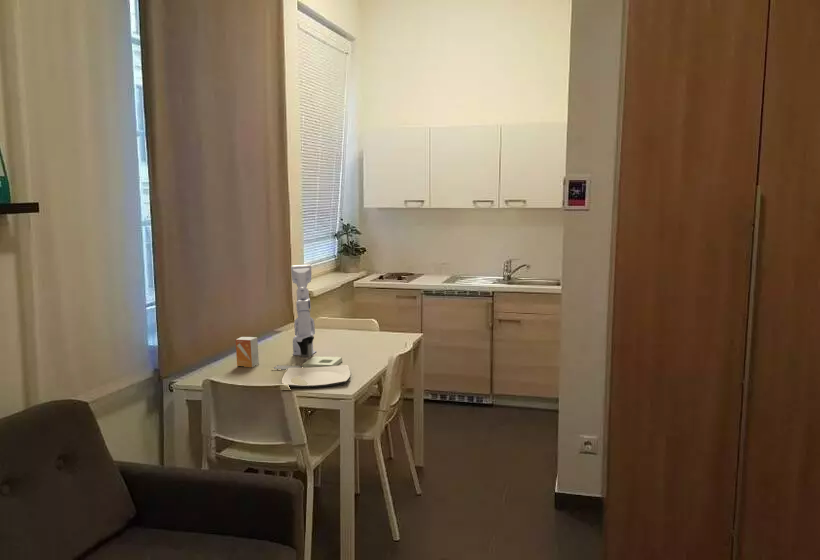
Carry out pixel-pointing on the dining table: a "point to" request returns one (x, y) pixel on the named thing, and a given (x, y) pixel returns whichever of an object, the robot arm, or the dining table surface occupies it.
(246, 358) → the small box
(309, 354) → the charger
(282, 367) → the phone
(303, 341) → the robot arm
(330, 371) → the plate
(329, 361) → the outlet board
